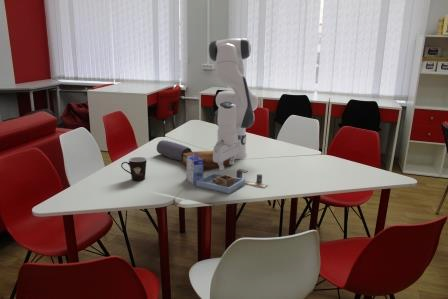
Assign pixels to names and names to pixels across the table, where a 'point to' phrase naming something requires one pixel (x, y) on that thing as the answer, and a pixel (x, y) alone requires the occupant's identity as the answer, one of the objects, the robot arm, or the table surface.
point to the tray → (209, 184)
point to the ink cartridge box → (194, 168)
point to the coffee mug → (137, 168)
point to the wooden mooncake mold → (225, 180)
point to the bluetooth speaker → (172, 149)
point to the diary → (205, 159)
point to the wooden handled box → (259, 180)
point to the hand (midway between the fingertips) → (226, 166)
